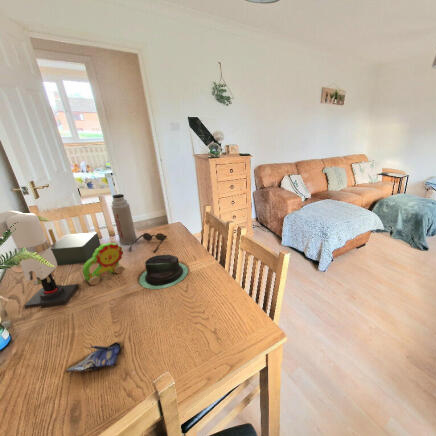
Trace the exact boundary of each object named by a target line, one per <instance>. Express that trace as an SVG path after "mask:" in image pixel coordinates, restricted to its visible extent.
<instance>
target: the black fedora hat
mask: <svg viewBox="0 0 436 436" xmlns="http://www.w3.org/2000/svg"><path fill="white" fill-rule="evenodd" d="M144 266H145V271H144V272H143V273H141V275H140V277H139V281H138V282H139V284H140V285H141V286H142V287H143V288H146V289H148V290H149V289H150V290H160V289H166V288H170V287H173V286H175V285H177V284H178V283H180V282H182V281H183V280H184V279H185V278H186V277H187V276H188V273H189V269H188V267H187V266H186V265H185V264H183V263H181V262H179V257H177V256H176V255H172V254H168V253H167V254H165V253H163V254H158V255H157V254H156V255H153V256H151V257H149V258H148V259H147V260H145V261H144Z"/></svg>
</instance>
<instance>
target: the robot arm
mask: <svg viewBox="0 0 436 436" xmlns="http://www.w3.org/2000/svg"><path fill="white" fill-rule="evenodd" d="M19 221H20V222H19ZM17 222H18V223H17ZM14 223H16V224H14ZM12 224H13V225H14V226H12ZM11 226H12V227H11ZM10 227H11V228H10ZM15 228H16V230H15ZM8 229H10V232H13V231H14V230H15V231H14V232H13V233H12V234H10V236H11V238H12V240H13V242H14V245H15V248H16V250H17V251H18V252H19V251H20V250H21V248H22V247H25V248H26V250H27V251H29V252H37V254H38V255H40V256H42V257H43V258H45V259H46V260H47V261H48V262H50V263H51V264H52V265H54V266H55V267H49V266H47V265H45V264H42V263H40V262H39V261H37V260H35V259H27V260H22V261H21V262H20V267H21V270H22V274H23V276H24V278H25V280H26V282H32V281H33V285H34V286H37V285H41V287H42V288H43V289H44V291H52V290H55V289H56V288H57V285H58V284H57V283H56V280H55V273H54V272H55V270H56V268H57V262H56V259H55V256H54V254H53V252H52V251H51V249H50V243H49V242H48V240H47V237H46V234H45V232H44V231H45V230H44V229H43V226H42V223H41V221H40V218H39V217H38V215H37V214H35V213H28V212H27V213H25V212H24V213H23V212H20V211H17V210H5V211H1V212H0V238H3V237H4V236H3V232H6V231H7V230H8ZM2 236H3V237H2Z"/></svg>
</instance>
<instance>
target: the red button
mask: <svg viewBox="0 0 436 436" xmlns="http://www.w3.org/2000/svg"><path fill="white" fill-rule="evenodd" d="M57 290H58V288H56V289H55V290H52V291H44V292H45V294H50V293H53V292H55V291H57Z"/></svg>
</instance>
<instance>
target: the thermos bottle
mask: <svg viewBox="0 0 436 436" xmlns="http://www.w3.org/2000/svg"><path fill="white" fill-rule="evenodd" d="M112 198H113V199H112V201H111V210H112V215H113V218H114V222H115V226H116V231H117V236H118V239H119V243H120V245H123V246H127V245H131V244H132V243H133V242H134V241H135V240H137V239H138V238H137V234H136V231H135V225H134V221H133V215H132V212H131V206H130V204H129V202H128V200H127V199H125V194H123V193H119V194H113V195H112ZM137 241H138V240H137Z"/></svg>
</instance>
